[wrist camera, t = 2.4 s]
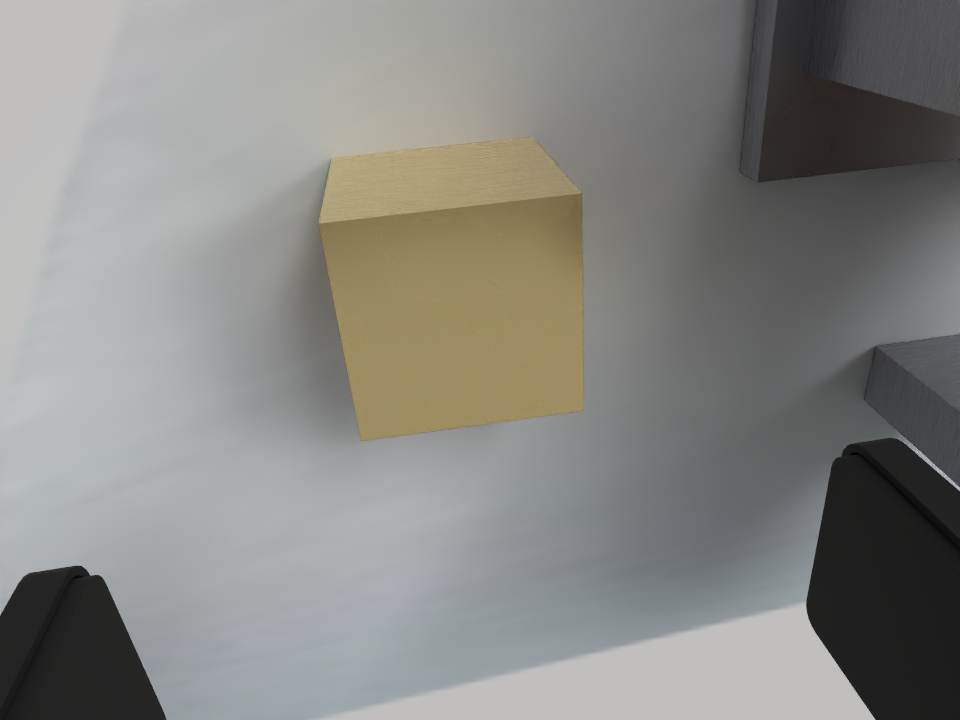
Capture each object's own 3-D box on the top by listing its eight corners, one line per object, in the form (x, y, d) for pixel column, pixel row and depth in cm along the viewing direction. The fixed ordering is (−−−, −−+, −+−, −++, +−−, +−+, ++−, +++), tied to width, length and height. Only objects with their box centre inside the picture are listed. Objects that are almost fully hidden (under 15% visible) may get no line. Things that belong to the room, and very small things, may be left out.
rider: (331, 157, 18) (318, 223, 13) (532, 135, 18) (582, 193, 14) (363, 337, 20) (360, 441, 16) (539, 315, 21) (583, 411, 16)
